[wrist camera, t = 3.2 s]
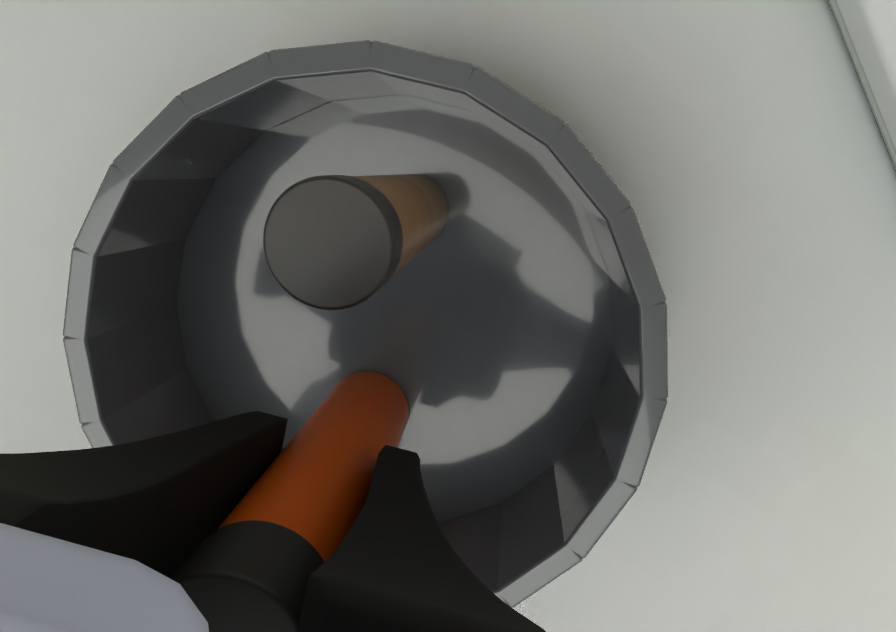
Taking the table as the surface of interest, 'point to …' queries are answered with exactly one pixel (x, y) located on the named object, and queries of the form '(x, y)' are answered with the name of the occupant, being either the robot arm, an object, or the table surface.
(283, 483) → the marker
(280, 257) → the brown slender rod
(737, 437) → the table surface
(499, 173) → the pot
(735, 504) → the table surface
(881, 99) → the hard drive
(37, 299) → the table surface
